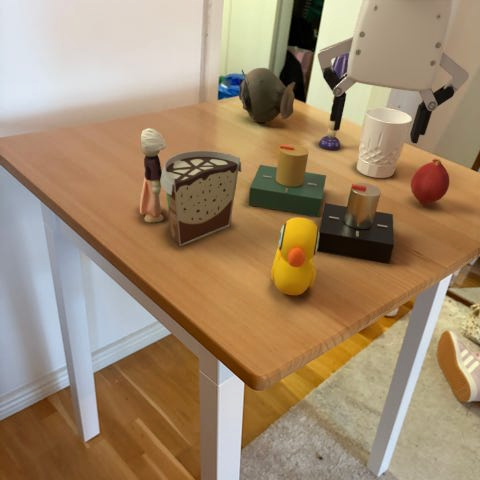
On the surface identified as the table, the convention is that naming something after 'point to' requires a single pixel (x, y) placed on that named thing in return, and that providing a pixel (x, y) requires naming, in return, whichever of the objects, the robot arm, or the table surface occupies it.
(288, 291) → the duckling
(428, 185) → the onion
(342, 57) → the toy lamp
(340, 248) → the panel
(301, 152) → the dial
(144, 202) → the grandmother figurine
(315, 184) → the panel
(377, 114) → the white cup
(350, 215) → the dial
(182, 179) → the food container
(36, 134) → the table surface
